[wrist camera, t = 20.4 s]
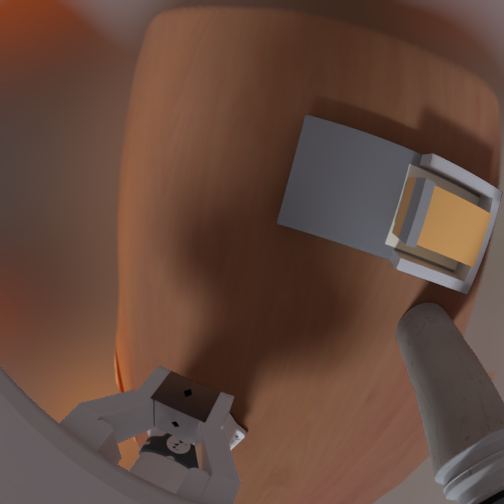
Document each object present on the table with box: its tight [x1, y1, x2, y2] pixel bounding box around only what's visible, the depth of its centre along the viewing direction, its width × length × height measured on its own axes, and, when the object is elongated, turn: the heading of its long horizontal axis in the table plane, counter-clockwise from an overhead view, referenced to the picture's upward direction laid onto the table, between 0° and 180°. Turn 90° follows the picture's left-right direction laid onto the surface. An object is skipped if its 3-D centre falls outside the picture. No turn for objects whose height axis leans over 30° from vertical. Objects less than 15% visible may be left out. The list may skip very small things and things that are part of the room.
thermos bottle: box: [396, 303, 504, 504], centre depth 18 cm, size 8×8×28 cm
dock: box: [277, 114, 502, 294], centre depth 26 cm, size 12×23×6 cm, turn 76°
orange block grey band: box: [392, 177, 491, 267], centre depth 22 cm, size 6×10×6 cm, turn 76°
